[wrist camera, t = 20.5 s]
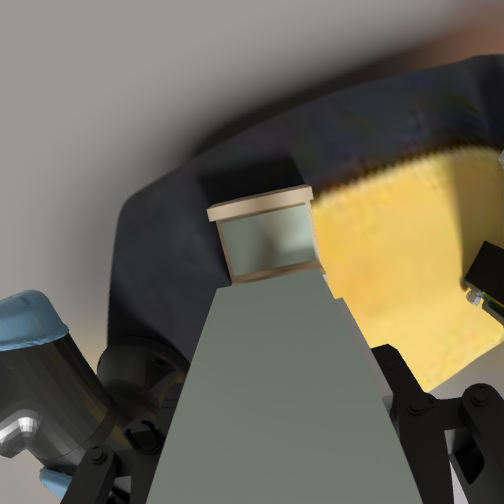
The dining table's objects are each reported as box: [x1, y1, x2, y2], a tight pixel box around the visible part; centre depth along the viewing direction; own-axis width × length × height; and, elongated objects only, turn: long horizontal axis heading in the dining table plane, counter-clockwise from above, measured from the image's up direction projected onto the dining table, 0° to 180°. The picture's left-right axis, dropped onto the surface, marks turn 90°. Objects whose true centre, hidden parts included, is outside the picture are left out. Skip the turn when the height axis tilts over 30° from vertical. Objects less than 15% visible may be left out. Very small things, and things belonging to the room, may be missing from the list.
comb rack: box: [207, 184, 328, 286], centre depth 31 cm, size 10×19×4 cm, turn 13°
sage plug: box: [146, 268, 423, 504], centre depth 9 cm, size 5×5×12 cm
